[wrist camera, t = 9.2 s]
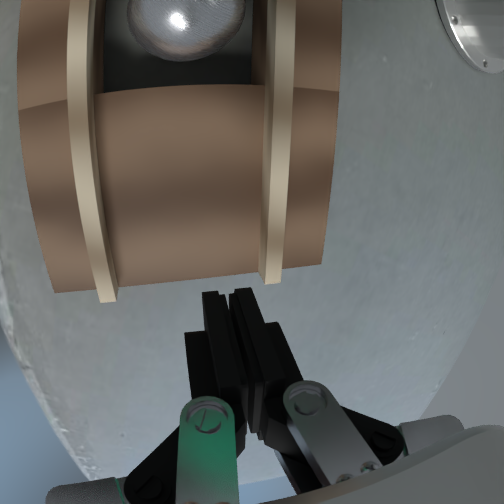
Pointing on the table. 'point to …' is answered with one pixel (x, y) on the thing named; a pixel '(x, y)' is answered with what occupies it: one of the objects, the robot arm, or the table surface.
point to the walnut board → (178, 153)
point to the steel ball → (184, 26)
